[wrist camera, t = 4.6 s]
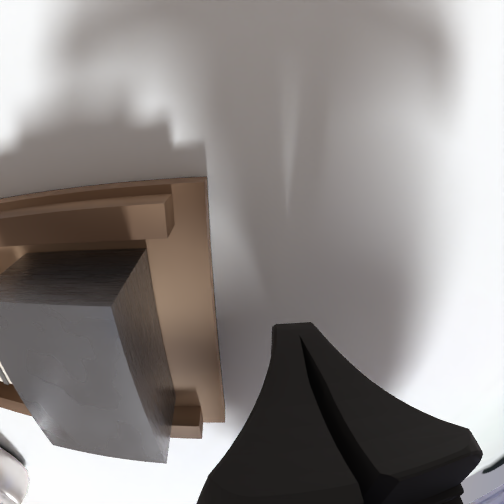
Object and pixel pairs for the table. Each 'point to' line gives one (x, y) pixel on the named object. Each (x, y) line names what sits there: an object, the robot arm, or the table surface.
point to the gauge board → (160, 264)
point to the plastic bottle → (12, 479)
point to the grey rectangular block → (89, 351)
